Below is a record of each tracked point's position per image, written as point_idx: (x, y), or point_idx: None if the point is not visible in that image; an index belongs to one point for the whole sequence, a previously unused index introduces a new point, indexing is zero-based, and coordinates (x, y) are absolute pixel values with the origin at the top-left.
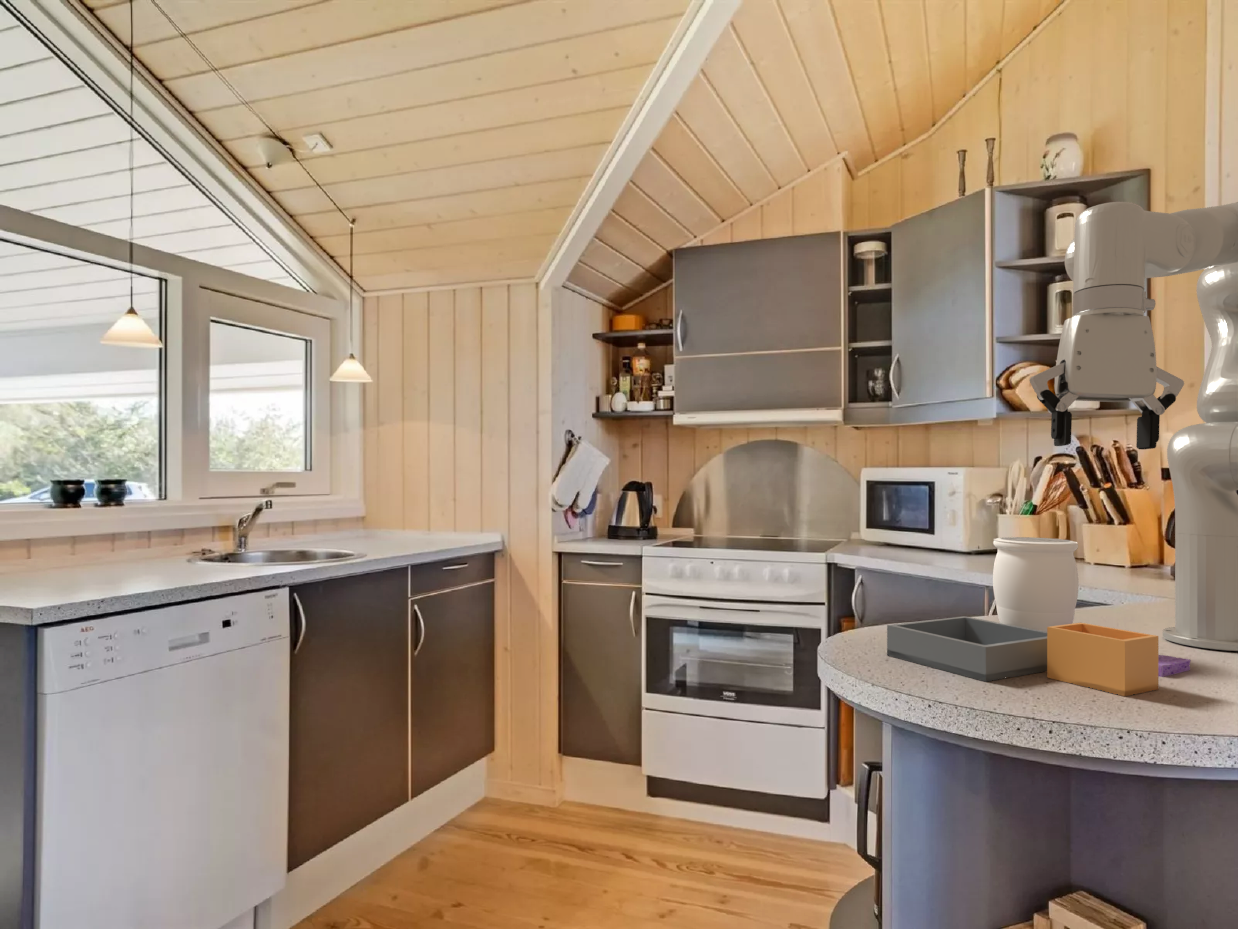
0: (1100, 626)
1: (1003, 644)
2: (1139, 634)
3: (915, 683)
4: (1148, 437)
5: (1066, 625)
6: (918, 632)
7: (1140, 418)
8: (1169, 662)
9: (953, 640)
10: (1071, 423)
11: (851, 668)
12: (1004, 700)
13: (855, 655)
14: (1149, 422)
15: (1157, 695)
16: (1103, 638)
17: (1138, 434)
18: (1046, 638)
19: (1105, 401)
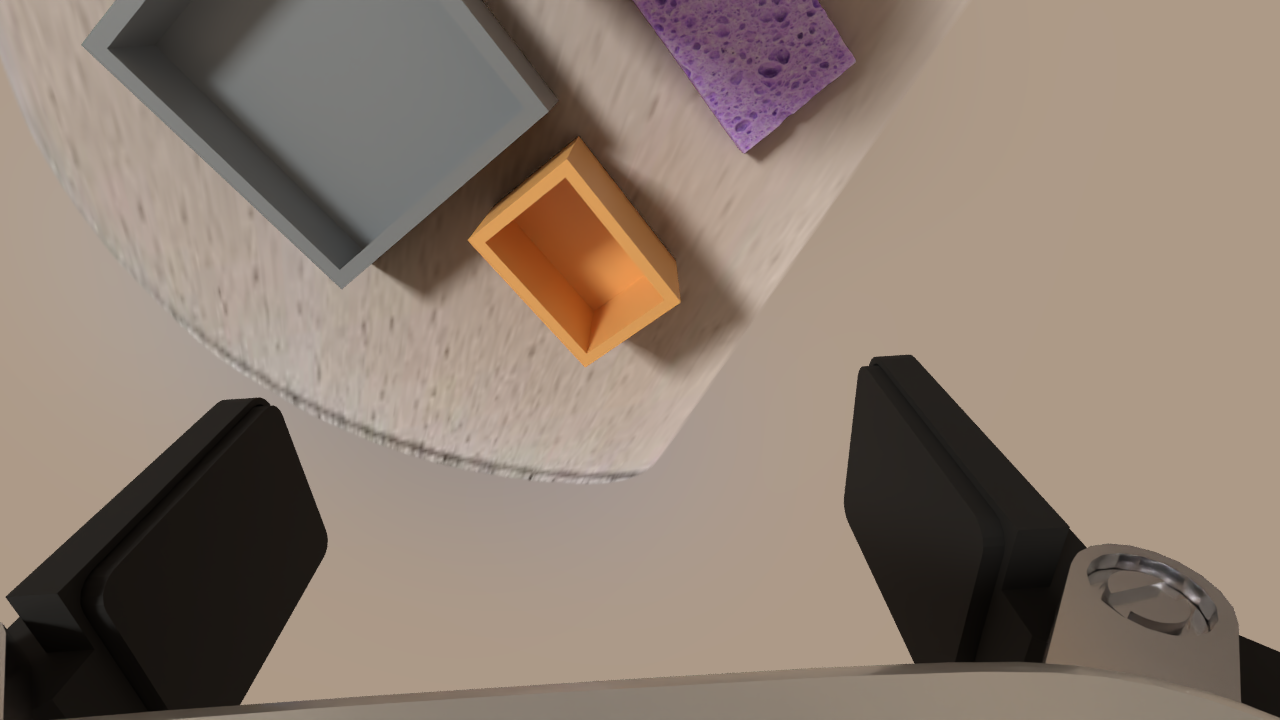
0: (597, 208)
1: (380, 255)
2: (651, 282)
3: (245, 295)
4: (866, 547)
5: (518, 211)
6: (183, 140)
7: (967, 579)
8: (782, 109)
9: (274, 225)
10: (258, 669)
11: (101, 199)
12: (392, 372)
13: (68, 55)
14: (916, 649)
15: None
16: (557, 336)
17: (900, 445)
18: (489, 161)
19: (663, 682)
